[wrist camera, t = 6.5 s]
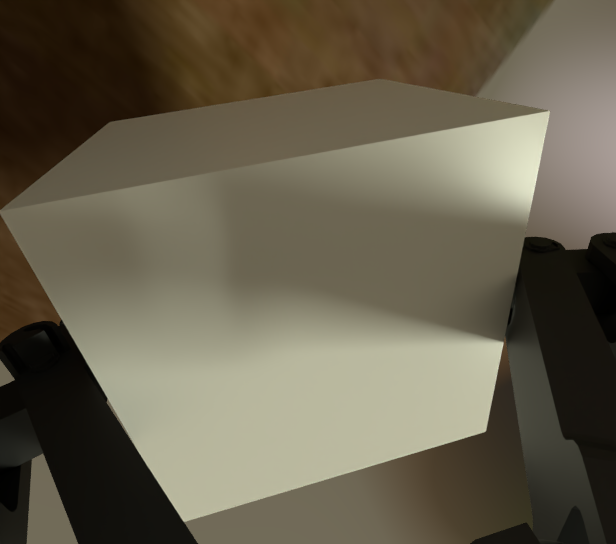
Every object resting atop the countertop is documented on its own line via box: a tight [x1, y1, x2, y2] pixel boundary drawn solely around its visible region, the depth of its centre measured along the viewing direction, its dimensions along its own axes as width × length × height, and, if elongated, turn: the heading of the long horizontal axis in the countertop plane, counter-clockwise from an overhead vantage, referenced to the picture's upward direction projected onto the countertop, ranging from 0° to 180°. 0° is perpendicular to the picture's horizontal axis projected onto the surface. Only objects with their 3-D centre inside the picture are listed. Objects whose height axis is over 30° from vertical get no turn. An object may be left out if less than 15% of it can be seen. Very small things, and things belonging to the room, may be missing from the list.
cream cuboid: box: [0, 79, 550, 522], centre depth 13 cm, size 10×10×9 cm
